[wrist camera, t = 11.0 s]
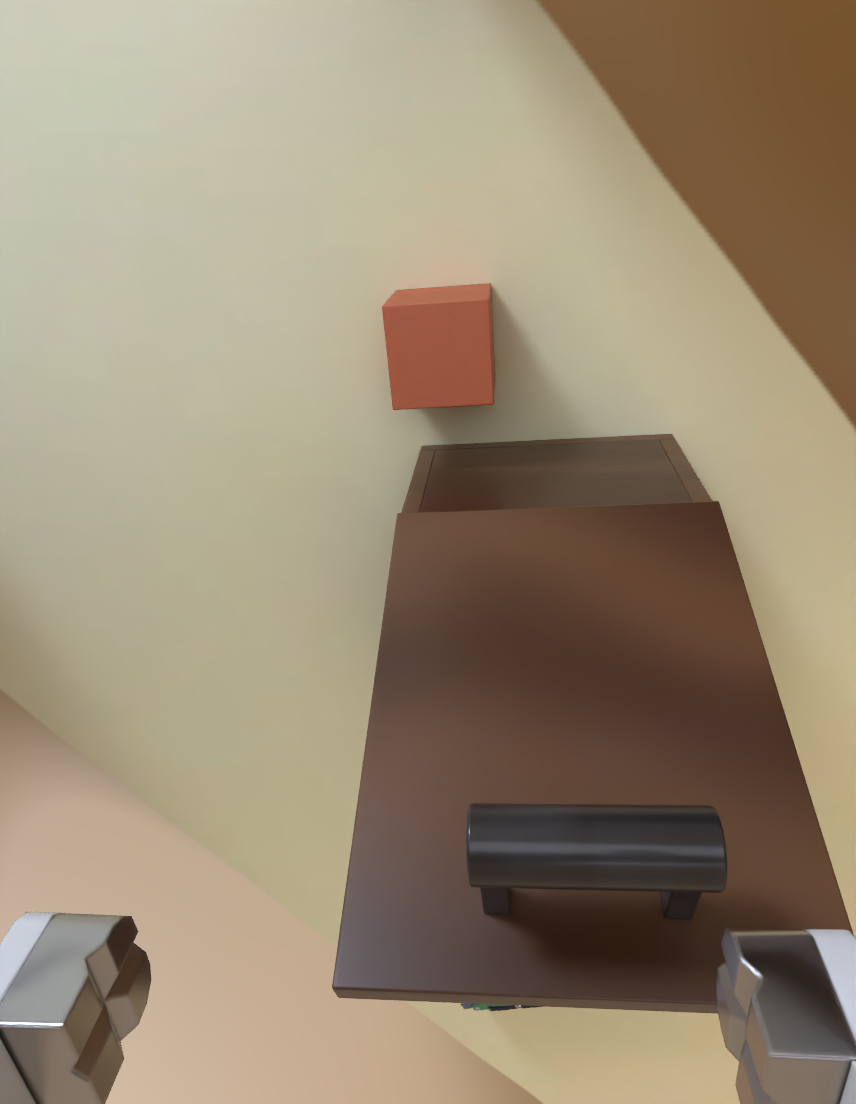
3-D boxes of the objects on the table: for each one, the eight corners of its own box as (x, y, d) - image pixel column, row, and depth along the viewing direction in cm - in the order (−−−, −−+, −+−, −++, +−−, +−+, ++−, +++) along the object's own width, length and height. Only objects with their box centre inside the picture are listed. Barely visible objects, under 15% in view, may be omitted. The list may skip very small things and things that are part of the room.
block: (404, 384, 38) (392, 410, 34) (395, 290, 36) (381, 306, 32) (495, 378, 37) (493, 404, 33) (491, 283, 35) (488, 298, 31)
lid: (867, 1020, 18) (947, 946, 14) (337, 998, 19) (291, 926, 16) (715, 515, 30) (738, 409, 26) (399, 527, 31) (381, 427, 28)
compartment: (655, 701, 45) (685, 813, 37) (444, 702, 47) (431, 810, 39) (672, 433, 38) (714, 503, 30) (421, 445, 39) (399, 515, 32)
